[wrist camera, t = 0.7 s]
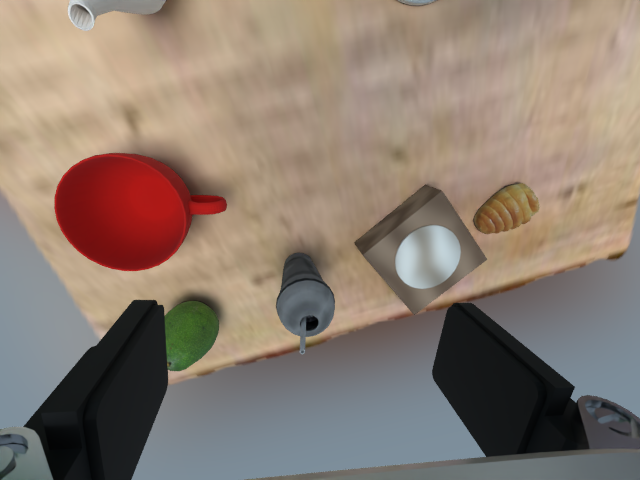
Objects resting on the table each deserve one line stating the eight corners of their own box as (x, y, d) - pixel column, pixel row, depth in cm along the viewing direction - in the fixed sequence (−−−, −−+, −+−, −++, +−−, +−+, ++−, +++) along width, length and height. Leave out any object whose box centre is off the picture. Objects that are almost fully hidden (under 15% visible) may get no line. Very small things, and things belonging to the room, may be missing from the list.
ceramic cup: (238, 236, 46) (230, 264, 37) (116, 245, 44) (74, 276, 35) (227, 144, 42) (214, 149, 32) (90, 149, 39) (34, 156, 30)
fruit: (184, 281, 47) (157, 329, 36) (231, 304, 50) (219, 355, 38) (160, 320, 49) (127, 377, 38) (207, 340, 51) (189, 400, 40)
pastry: (479, 240, 53) (494, 248, 49) (465, 208, 50) (480, 214, 47) (528, 211, 52) (547, 217, 48) (517, 176, 50) (536, 180, 46)
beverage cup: (321, 284, 51) (350, 376, 32) (276, 288, 50) (279, 384, 31) (321, 243, 48) (352, 315, 30) (273, 245, 47) (274, 322, 29)
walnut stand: (425, 184, 47) (443, 191, 42) (468, 247, 52) (488, 260, 47) (354, 242, 49) (363, 256, 44) (402, 298, 54) (415, 316, 49)
